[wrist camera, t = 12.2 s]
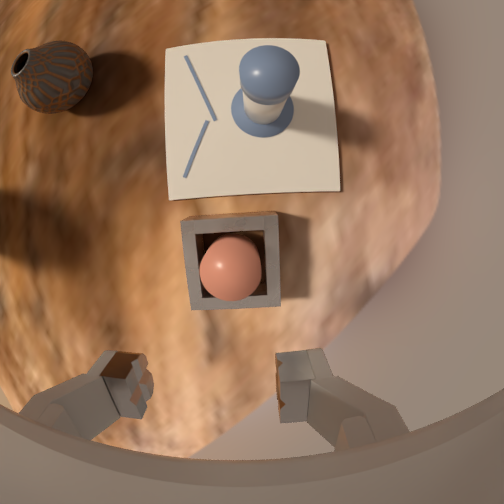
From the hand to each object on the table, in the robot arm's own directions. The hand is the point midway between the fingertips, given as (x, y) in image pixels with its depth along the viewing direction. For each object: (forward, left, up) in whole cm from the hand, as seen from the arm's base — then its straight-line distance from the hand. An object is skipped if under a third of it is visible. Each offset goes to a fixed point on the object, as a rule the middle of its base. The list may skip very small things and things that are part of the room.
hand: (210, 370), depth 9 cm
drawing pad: (-12, +2, -15) cm, 19 cm away
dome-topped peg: (-12, +3, -15) cm, 19 cm away
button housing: (0, 0, -15) cm, 15 cm away
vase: (-18, -15, -15) cm, 28 cm away
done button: (0, 0, -14) cm, 14 cm away
